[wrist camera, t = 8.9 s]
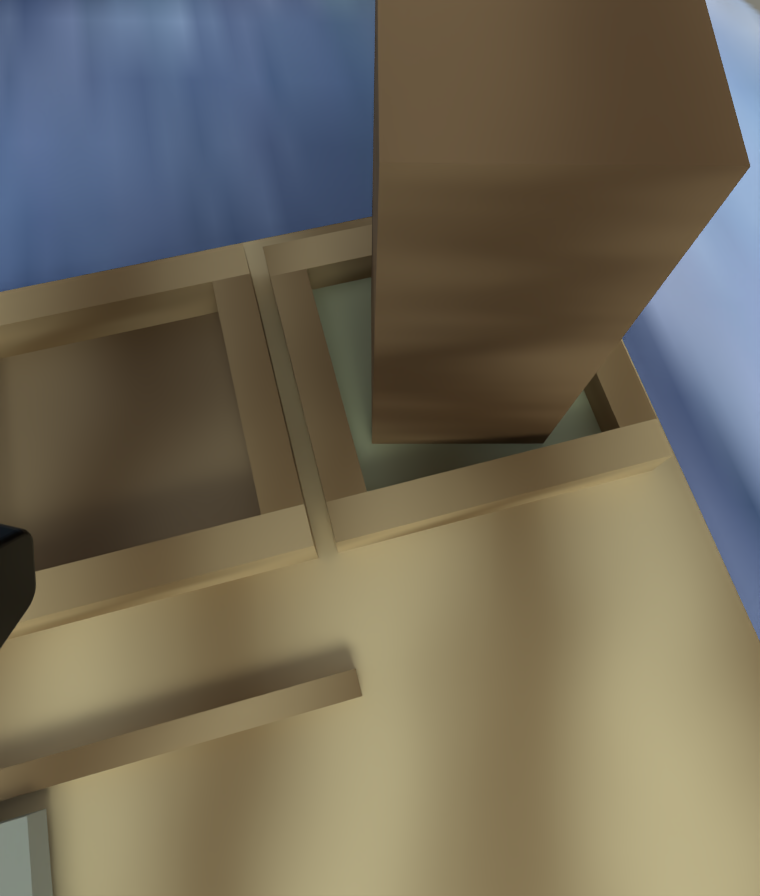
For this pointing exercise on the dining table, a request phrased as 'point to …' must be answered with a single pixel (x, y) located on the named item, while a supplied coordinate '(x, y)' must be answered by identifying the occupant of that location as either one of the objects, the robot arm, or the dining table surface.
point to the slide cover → (25, 856)
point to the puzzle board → (350, 612)
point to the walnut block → (531, 199)
